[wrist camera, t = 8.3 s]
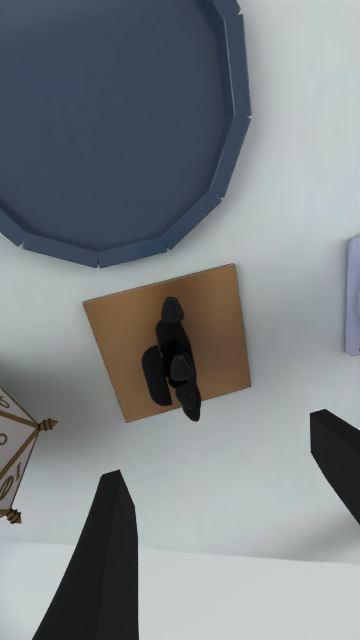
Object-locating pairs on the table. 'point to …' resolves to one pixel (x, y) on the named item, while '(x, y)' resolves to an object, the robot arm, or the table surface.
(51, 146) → the plate
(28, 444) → the game die
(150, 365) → the wireless earbuds
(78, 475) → the table surface
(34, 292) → the table surface
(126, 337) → the cork coaster
